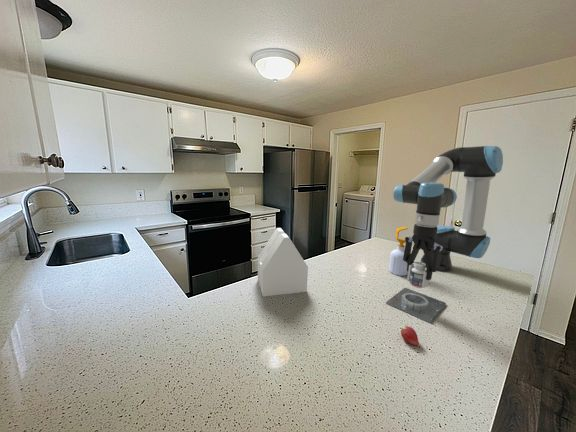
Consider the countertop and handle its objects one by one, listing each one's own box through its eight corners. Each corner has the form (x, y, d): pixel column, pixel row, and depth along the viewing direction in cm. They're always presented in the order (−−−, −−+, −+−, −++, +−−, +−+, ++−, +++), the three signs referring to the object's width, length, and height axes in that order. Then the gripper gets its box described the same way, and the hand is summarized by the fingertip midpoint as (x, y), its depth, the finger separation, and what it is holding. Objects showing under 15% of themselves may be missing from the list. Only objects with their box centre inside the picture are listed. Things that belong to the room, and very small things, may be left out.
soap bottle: (409, 276, 119) (416, 229, 114) (390, 274, 120) (396, 228, 116) (404, 269, 127) (410, 225, 122) (387, 267, 129) (392, 224, 124)
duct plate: (404, 289, 106) (405, 283, 105) (445, 304, 94) (446, 297, 94) (386, 303, 94) (387, 296, 94) (430, 323, 83) (431, 315, 82)
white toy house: (262, 296, 97) (263, 238, 92) (257, 279, 111) (257, 228, 107) (306, 291, 102) (309, 236, 97) (296, 276, 116) (298, 227, 111)
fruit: (412, 349, 70) (415, 335, 69) (396, 336, 75) (398, 323, 74) (422, 345, 72) (424, 331, 71) (405, 333, 77) (407, 319, 76)
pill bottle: (410, 280, 95) (413, 260, 93) (425, 284, 92) (428, 263, 90) (408, 285, 90) (411, 264, 89) (424, 289, 88) (427, 267, 86)
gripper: (397, 220, 93) (390, 275, 97) (446, 232, 77) (435, 296, 81) (409, 219, 96) (402, 272, 101) (458, 229, 80) (447, 292, 85)
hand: (417, 283), depth 91 cm, fingers closed on pill bottle, 5 cm apart
